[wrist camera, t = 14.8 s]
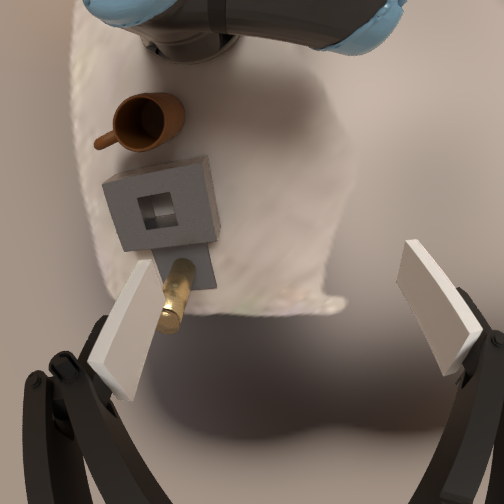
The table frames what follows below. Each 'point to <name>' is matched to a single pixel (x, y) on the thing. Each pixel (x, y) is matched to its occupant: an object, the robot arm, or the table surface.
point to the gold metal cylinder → (176, 295)
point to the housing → (183, 197)
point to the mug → (144, 122)
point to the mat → (191, 252)
